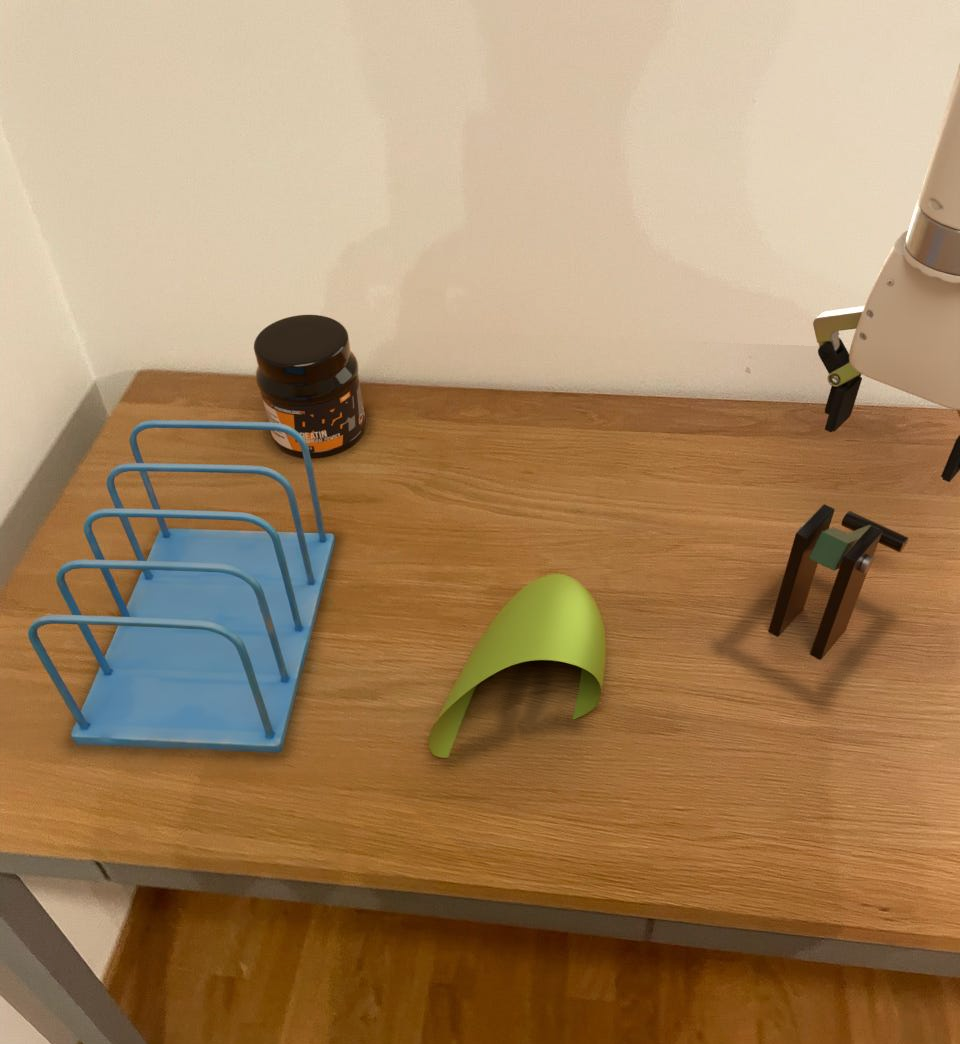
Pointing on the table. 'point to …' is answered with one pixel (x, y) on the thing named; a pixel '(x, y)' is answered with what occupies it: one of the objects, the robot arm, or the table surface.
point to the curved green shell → (532, 648)
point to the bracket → (843, 589)
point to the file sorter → (200, 621)
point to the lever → (850, 540)
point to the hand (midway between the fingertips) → (893, 447)
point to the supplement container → (310, 384)
